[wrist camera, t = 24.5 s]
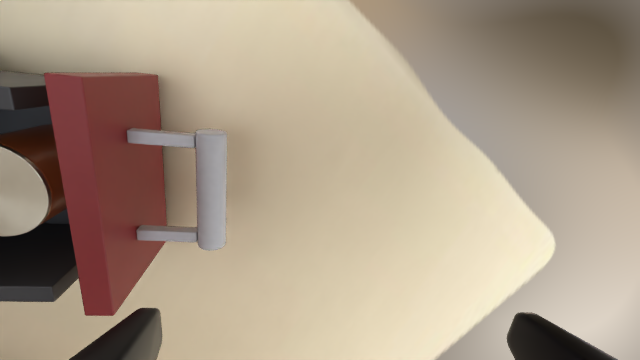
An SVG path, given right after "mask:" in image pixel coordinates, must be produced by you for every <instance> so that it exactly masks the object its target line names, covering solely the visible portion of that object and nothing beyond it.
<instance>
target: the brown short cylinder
mask: <svg viewBox="0 0 640 360" xmlns="http://www.w3.org/2000/svg"><path fill="white" fill-rule="evenodd" d="M65 209H67V206H66V201H65V195H64V189H63V183H62V177H61V172H60V166H59V160H58V154H57V148H56V143H55V137H54V131H53V125H52V124H47V125H41V126H36V127H32V128H27V129H22V130H18V131H13V132H9V133H4V134H0V236H16V235H21V234H24V233H27V232H29V231H31V230H33V229H35V228H36V227H38V226H39V225H41V224H43V223H44V222H46V221H47V220H49V219H51V218H52V217H54V216H55V215H57V214H59V213H60V212H62V211H63V210H65Z"/></svg>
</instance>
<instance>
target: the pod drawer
mask: <svg viewBox="0 0 640 360" xmlns="http://www.w3.org/2000/svg"><path fill="white" fill-rule="evenodd" d="M47 124H52V125H53V131H54V137H55V143H56V148H57V154H58V160H59V166H60V172H61V177H62V183H63V189H64V195H65V201H66V206H67V209H65V210H63V211H62V212H60V213H59V214H57V215H55V216H54V217H52V218H51V219H49V220H47V221H46V222H44V223H43V224H41V225H39V226H38V227H36V228H35V229H33V230H31V231H29V232H27V233H24V234H21V235H16V236H0V301H23V302H54V301H56V300H57V299H58V298H59V297H60V296H61V295H62V294H63V293H64V292H65V291H66V290H67V289H68V288H69V287H70V286H71V285H72V284H73V283H74V282H75V281H76V280H77V279H78V278H79V282H80V288H81V294H82V299H83V305H84V311H85V315H89V316H113V315H114V314H115V313H116V312H117V310H118V309H119V307H120V306H121V304H122V303H123V302H124V300H125V299H126V297H127V296H128V295H129V293H130V292H131V290H132V289H133V287H134V286H135V285H136V283H137V282H138V280H139V279H140V277H141V276H142V275H143V273H144V272H145V270H146V269H147V268H148V266H149V265H150V263H151V262H152V260H153V259H154V258H155V256H156V255H157V253H158V252H159V251H160V249H161V248H162V246H163V245H164V243H165V242H166V241H175V242H197V240H198V246H199V247H200V248H201V249H203V250H217V249H220V248H222V247H223V246H224V245H225V243H226V182H227V133H226V132H225V131H222V130H217V129H200V130H197V131H196V132H195V133H185V132H173V131H161V119H160V102H159V85H158V75H153V74H144V73H44V75H39V74H29V73H19V72H9V71H0V134H4V133H9V132H13V131H18V130H22V129H27V128H32V127H36V126H41V125H47ZM162 146H172V147H185V148H195V147H196V186H197V227H174V226H167V222H166V205H165V188H164V171H163V154H162Z"/></svg>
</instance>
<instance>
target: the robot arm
mask: <svg viewBox="0 0 640 360" xmlns="http://www.w3.org/2000/svg"><path fill="white" fill-rule="evenodd" d="M161 343H162V327H161V316H160V311H159V309H157V308H140V309H138V310H136V311H135V312H133V313H132V314H131V315H129V316H128V317H126V318H125V319H124V320H122V321H121V322H120V323H118V324H117V325H116V326H114V327H113V328H111V329H110V330H109V331H107V332H106V333H105V334H103V335H102V336H101V337H99V338H98V339H96V340H95V341H94V342H92V343H91V344H90V345H88V346H87V347H85V348H84V349H83V350H81V351H80V352H79V353H77V354H76V355H75V356H73V357H72V358H70V359H69V360H156V359H157V356H158V353H159V350H160V347H161ZM507 343H508V346H509V348H510V350H511V352H512V354H513V356H514V358H515V360H618V359H616V358H614V357H612V356H610V355H608V354H607V353H605V352H603V351H601V350H600V349H598V348H596V347H594V346H592V345H591V344H589V343H587V342H585V341H583V340H582V339H580V338H578V337H576V336H574V335H573V334H571V333H569V332H567V331H566V330H564V329H562V328H560V327H558V326H557V325H555V324H553V323H551V322H549V321H548V320H546V319H544V318H542V317H540V316H539V315H537V314H535V313H524V312H522V313H517V314H516V315H515V317H514V319H513V322H512V324H511V327H510V329H509V332H508V334H507Z"/></svg>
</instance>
